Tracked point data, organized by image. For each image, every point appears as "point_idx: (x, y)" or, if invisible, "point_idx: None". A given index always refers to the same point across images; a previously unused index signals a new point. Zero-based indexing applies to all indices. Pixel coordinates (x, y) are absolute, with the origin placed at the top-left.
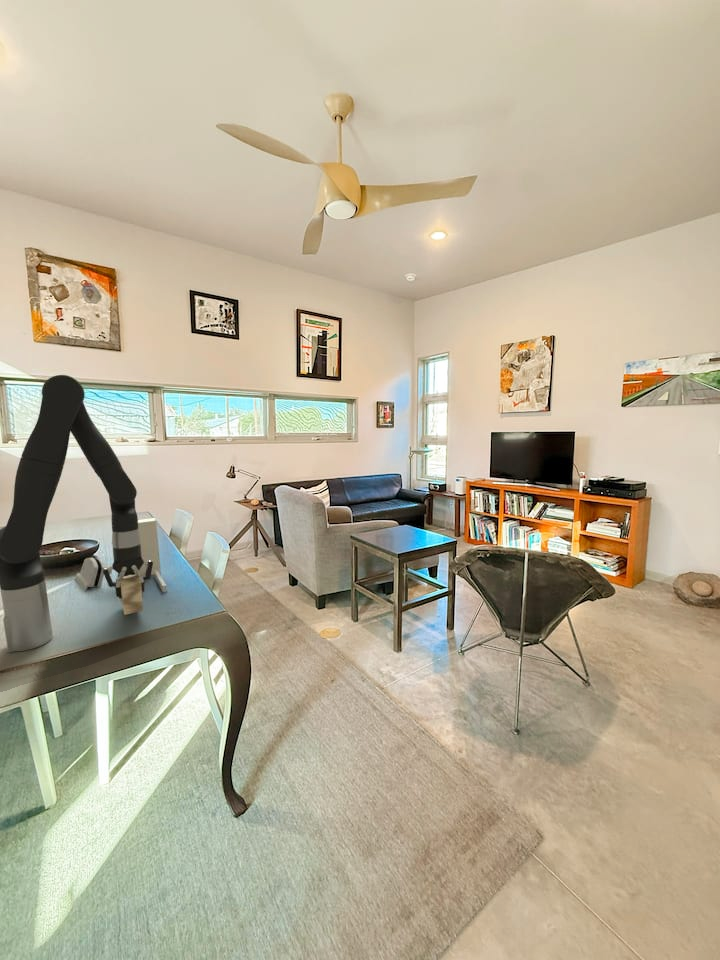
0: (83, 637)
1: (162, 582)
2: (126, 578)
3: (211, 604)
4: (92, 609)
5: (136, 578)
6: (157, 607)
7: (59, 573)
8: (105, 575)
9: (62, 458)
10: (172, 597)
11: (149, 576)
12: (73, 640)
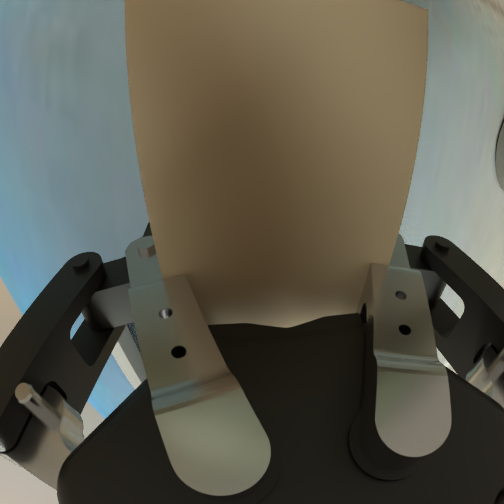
0: (444, 51)
1: (117, 352)
2: (316, 295)
3: None
4: None
5: (192, 231)
6: (124, 155)
7: None
8: None
9: None
10: (70, 236)
11: (62, 274)
12: (466, 57)
